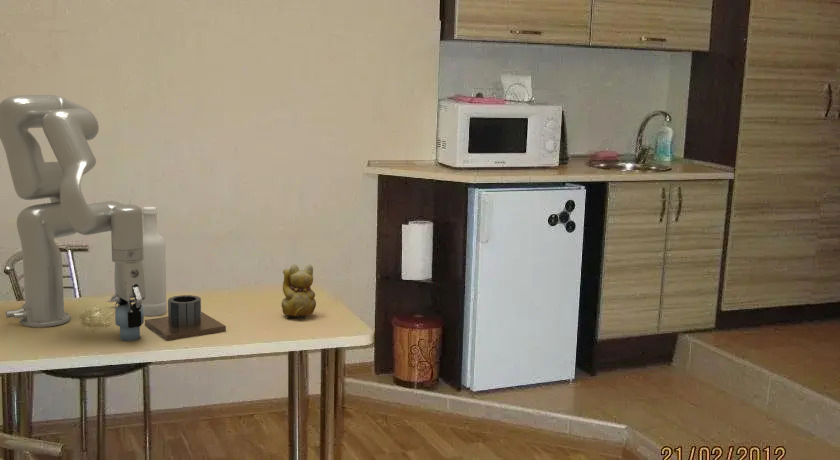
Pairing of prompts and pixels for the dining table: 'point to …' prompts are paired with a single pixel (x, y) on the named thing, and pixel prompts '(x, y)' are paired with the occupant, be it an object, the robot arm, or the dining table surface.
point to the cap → (122, 321)
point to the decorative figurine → (298, 292)
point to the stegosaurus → (113, 299)
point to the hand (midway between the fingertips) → (129, 322)
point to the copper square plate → (184, 320)
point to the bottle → (153, 265)
